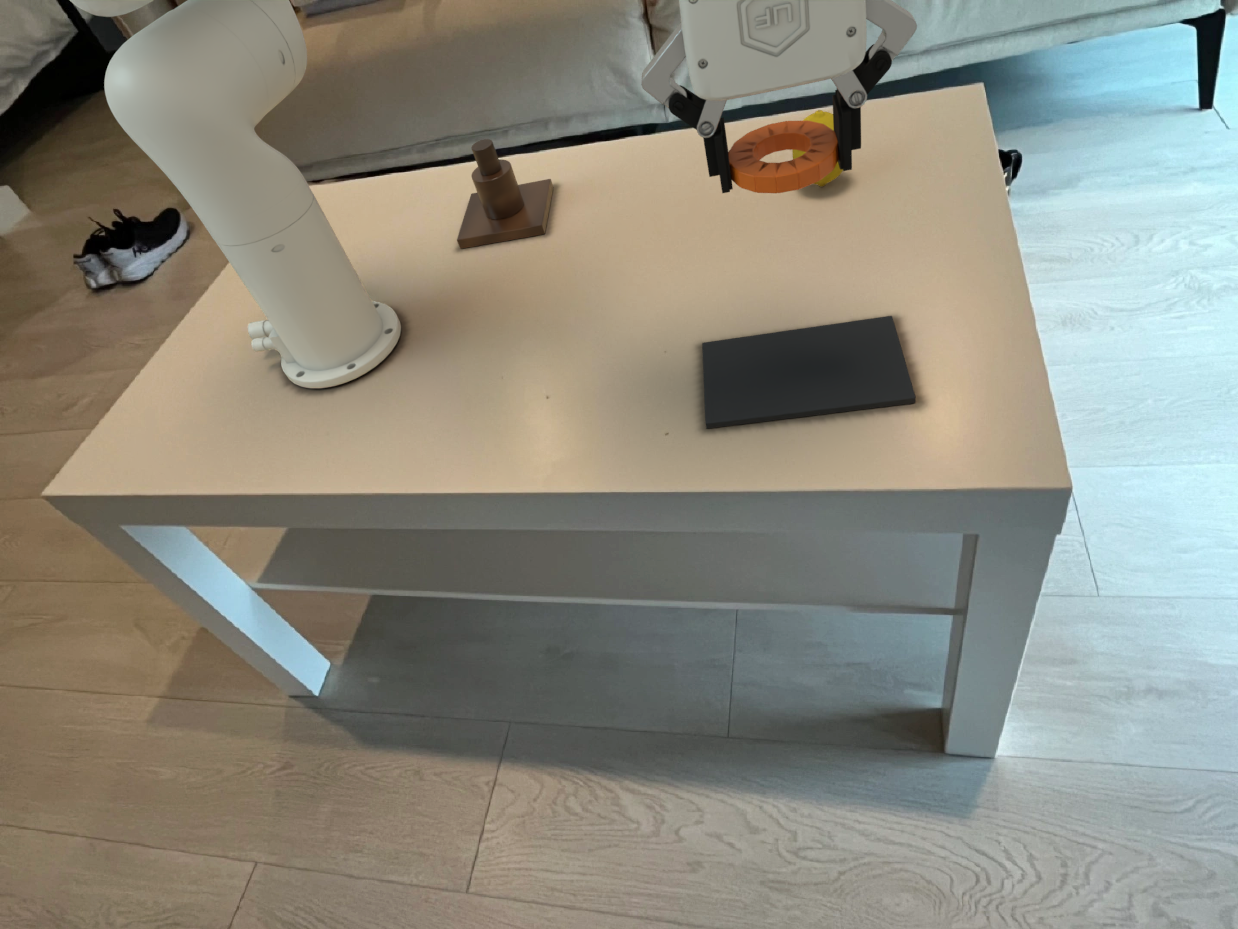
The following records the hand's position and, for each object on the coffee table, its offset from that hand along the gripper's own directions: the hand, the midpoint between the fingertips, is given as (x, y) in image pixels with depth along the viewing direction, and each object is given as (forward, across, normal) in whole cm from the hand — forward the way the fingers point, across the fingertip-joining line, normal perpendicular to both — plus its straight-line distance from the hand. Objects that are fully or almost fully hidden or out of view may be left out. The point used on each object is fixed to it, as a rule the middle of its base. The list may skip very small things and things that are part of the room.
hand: (783, 169), depth 54 cm
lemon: (+18, +5, +28) cm, 34 cm away
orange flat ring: (0, 0, 0) cm, 0 cm away
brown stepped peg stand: (+18, -30, +33) cm, 48 cm away
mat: (+18, 0, 0) cm, 18 cm away
